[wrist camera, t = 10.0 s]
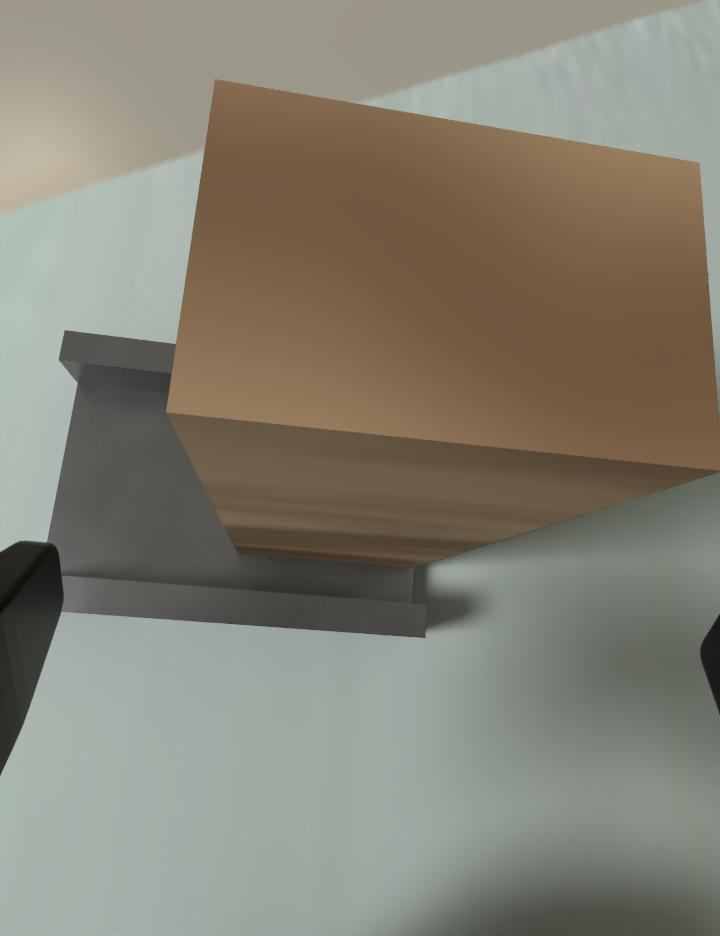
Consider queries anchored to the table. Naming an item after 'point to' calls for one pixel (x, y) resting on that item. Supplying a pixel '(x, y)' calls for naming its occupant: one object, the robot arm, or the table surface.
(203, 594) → the track
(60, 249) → the table surface
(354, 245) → the wooden block
